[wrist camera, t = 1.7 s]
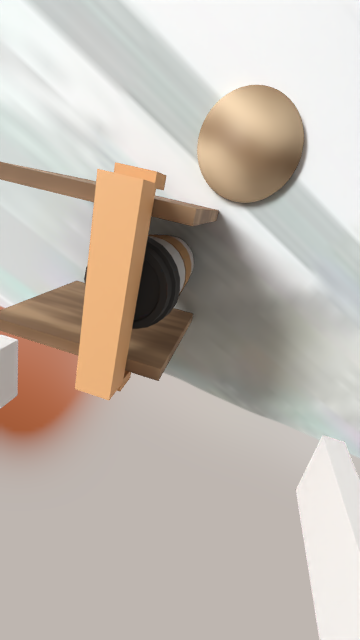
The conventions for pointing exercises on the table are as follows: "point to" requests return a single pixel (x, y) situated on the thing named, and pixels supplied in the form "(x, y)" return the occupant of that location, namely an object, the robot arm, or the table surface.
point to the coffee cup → (161, 278)
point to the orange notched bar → (114, 275)
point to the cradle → (67, 301)
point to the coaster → (250, 143)
